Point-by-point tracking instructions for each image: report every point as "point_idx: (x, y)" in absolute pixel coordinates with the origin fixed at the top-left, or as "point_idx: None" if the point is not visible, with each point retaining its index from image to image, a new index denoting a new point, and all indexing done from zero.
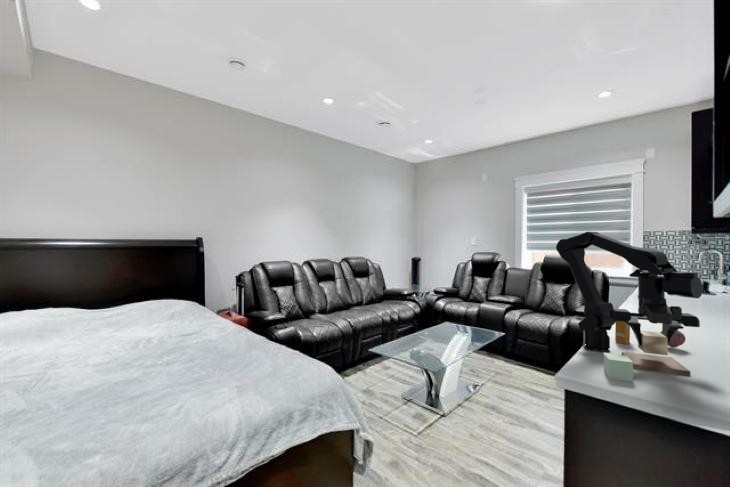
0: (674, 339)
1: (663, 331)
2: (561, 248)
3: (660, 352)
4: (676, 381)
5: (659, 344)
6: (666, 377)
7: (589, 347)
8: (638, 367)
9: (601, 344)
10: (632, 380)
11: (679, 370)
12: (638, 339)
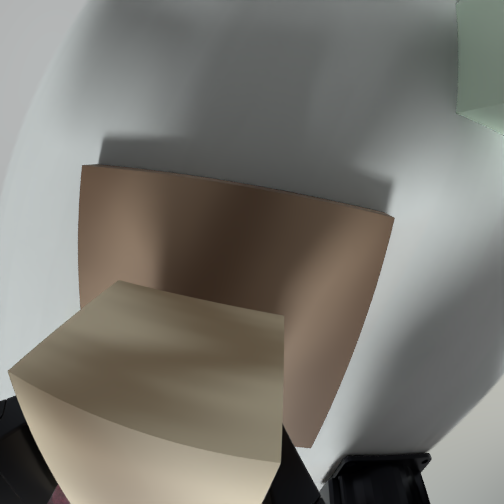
0: (60, 494)
1: (35, 493)
2: None
3: (158, 299)
4: (227, 30)
5: (129, 342)
6: (250, 80)
7: (412, 466)
8: (358, 206)
9: (376, 484)
10: (460, 4)
11: (128, 169)
12: (296, 455)
